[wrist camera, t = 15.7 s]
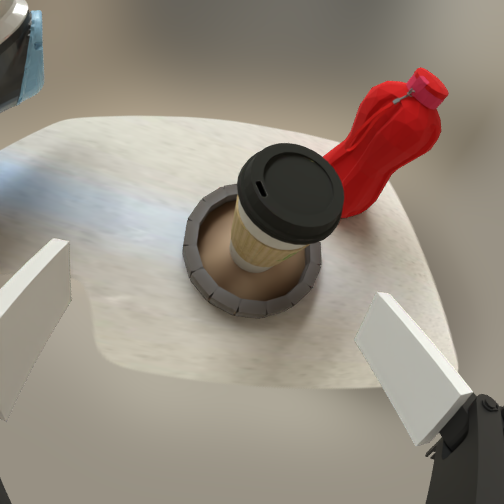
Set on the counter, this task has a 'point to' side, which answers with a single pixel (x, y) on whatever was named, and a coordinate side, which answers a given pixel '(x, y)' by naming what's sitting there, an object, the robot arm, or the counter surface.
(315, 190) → the coffee cup
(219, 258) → the round tray
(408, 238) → the counter surface
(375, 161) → the red curved bottle
